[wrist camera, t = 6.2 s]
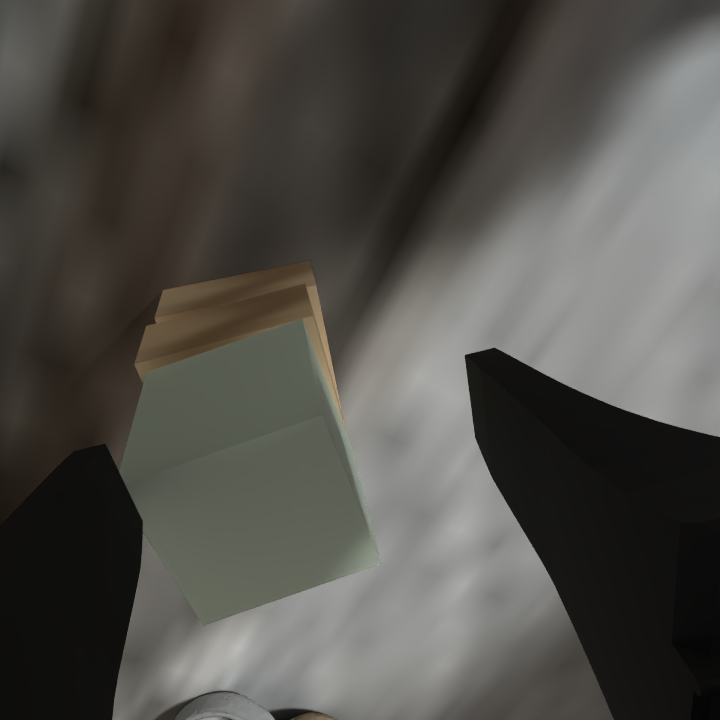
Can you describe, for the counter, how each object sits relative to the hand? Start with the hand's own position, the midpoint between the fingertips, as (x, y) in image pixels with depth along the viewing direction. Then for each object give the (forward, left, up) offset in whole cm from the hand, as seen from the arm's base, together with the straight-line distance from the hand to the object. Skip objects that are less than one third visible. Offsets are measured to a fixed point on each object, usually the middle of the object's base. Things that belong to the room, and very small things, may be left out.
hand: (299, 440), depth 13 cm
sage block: (+2, +2, -6) cm, 6 cm away
